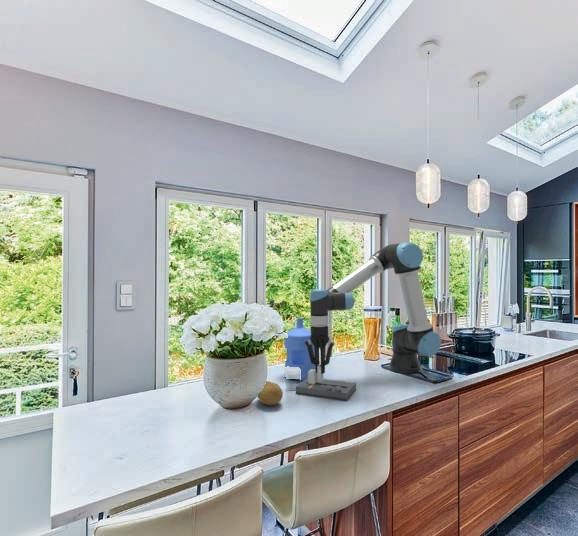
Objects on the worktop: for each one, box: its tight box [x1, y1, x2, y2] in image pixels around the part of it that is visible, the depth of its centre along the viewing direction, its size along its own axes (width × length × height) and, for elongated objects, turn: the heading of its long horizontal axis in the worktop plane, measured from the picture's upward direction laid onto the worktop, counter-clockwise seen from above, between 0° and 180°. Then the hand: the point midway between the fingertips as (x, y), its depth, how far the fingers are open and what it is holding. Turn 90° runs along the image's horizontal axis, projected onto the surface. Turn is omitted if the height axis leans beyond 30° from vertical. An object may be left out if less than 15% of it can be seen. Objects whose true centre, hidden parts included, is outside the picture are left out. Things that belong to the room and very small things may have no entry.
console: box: [295, 378, 357, 402], centre depth 153 cm, size 22×14×4 cm, turn 65°
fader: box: [308, 369, 318, 384], centre depth 155 cm, size 3×4×7 cm
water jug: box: [283, 317, 315, 381], centre depth 176 cm, size 16×16×28 cm
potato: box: [256, 380, 284, 406], centre depth 140 cm, size 10×14×8 cm
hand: (320, 380), depth 154 cm, fingers closed
